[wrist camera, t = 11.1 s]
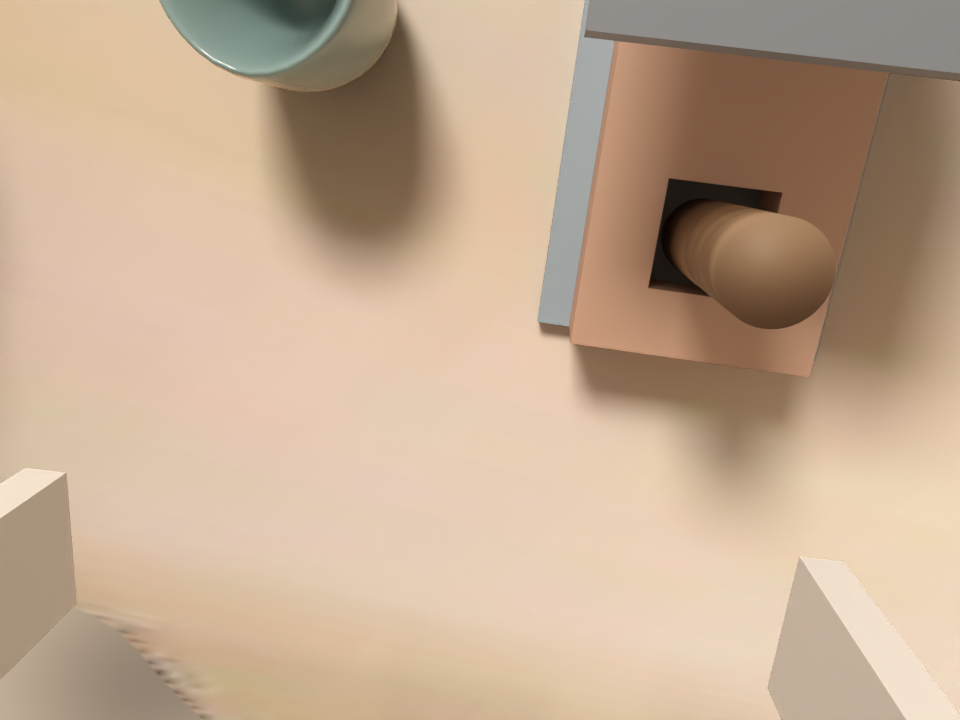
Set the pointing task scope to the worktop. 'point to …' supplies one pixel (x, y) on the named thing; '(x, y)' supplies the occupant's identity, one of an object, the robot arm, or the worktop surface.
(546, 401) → the worktop surface
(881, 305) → the worktop surface
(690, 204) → the peg
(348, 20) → the cup
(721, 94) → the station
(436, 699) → the worktop surface
